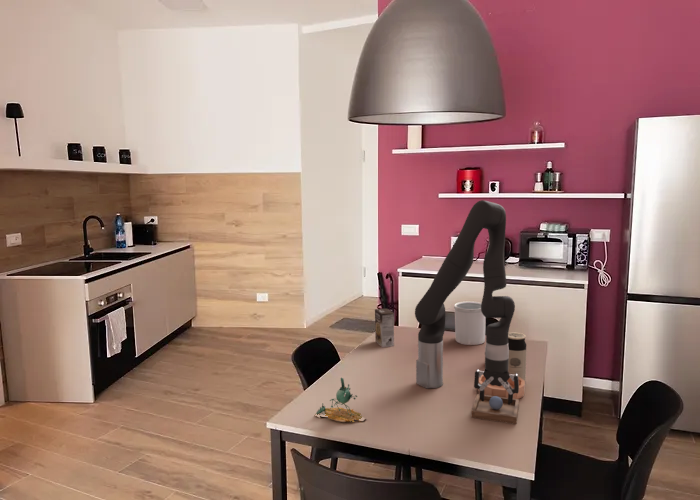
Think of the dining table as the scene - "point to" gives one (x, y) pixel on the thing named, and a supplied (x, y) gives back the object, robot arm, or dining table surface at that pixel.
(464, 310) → the utensil holder
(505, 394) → the bowl
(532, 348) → the dining table surface
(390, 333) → the coffee box
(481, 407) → the tray
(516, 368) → the travel mug
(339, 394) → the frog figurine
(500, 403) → the ball
